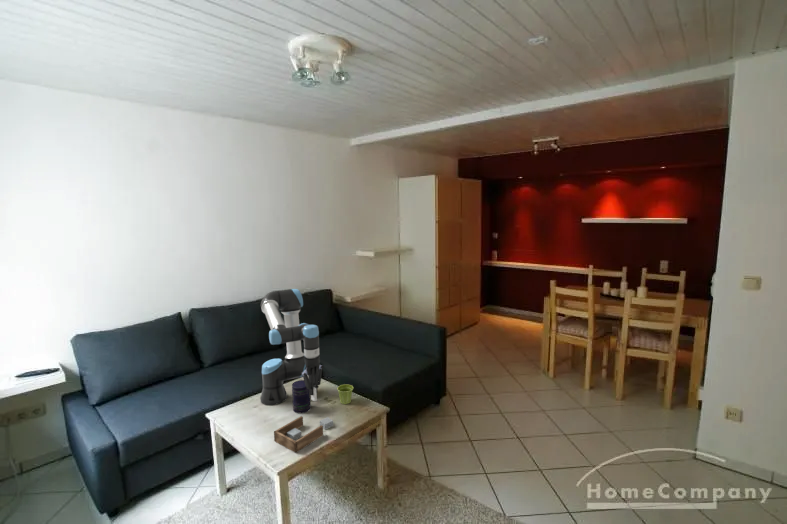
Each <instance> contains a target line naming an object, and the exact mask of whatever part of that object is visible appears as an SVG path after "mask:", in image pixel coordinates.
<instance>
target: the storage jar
mask: <svg viewBox="0 0 787 524" xmlns="http://www.w3.org/2000/svg"><path fill="white" fill-rule="evenodd" d="M291 394H292V408H293V410H292V411H293V412H294V413H296V414H305V413H307V412H309V411H310V410H311V401H312V400H311V395H310V390H309V389H307V388H306V386H305V382H304V379H301V380H296V381H294V382H292V384H291Z"/></svg>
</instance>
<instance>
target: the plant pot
mask: <svg viewBox="0 0 787 524" xmlns="http://www.w3.org/2000/svg"><path fill="white" fill-rule="evenodd" d="M336 389H337V393H338V396H339V402H340V404H342V405H348V404H350V403H351V402H352V395H353V390H354V386H353V384H352V385H351V384H345V383H344V384H340V385H339V386H338V387H337V388H336Z"/></svg>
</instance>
